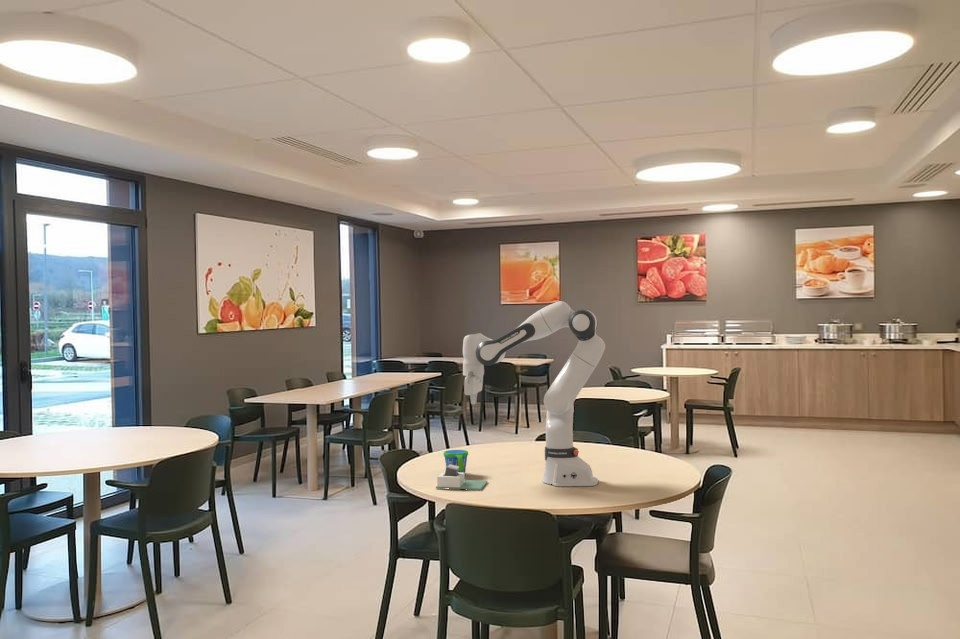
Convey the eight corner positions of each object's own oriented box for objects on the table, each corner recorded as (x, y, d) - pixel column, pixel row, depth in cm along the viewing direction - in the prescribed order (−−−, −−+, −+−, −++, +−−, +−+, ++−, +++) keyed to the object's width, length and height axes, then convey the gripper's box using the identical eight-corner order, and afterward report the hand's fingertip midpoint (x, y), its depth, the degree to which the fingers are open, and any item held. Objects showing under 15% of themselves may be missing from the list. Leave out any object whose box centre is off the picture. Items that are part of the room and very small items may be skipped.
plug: (456, 483, 274) (459, 466, 273) (453, 485, 270) (457, 468, 269) (445, 480, 274) (448, 463, 274) (442, 482, 271) (446, 465, 270)
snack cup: (441, 472, 300) (441, 448, 300) (465, 470, 302) (464, 447, 302) (446, 479, 284) (446, 455, 284) (471, 478, 286) (471, 454, 286)
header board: (487, 482, 278) (487, 470, 278) (480, 490, 264) (480, 478, 264) (444, 481, 282) (444, 469, 282) (435, 489, 268) (435, 476, 268)
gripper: (475, 372, 277) (475, 406, 277) (485, 369, 297) (485, 401, 297) (460, 372, 278) (460, 406, 278) (471, 369, 298) (471, 401, 298)
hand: (473, 404), depth 288 cm, fingers closed
